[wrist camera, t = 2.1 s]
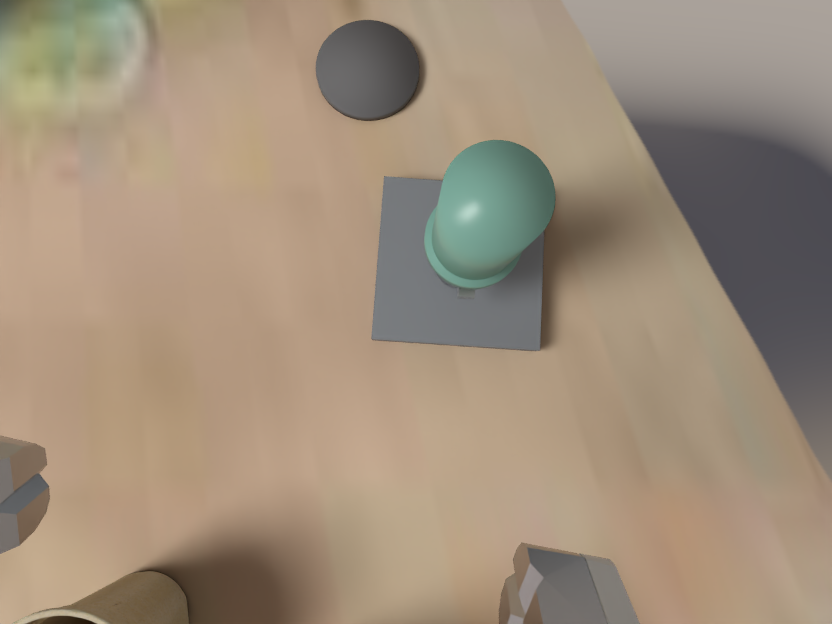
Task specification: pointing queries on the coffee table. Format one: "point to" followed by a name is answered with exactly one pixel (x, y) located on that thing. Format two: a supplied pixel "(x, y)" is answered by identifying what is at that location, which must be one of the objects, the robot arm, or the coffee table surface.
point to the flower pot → (123, 604)
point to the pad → (367, 70)
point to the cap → (488, 213)
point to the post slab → (436, 302)
